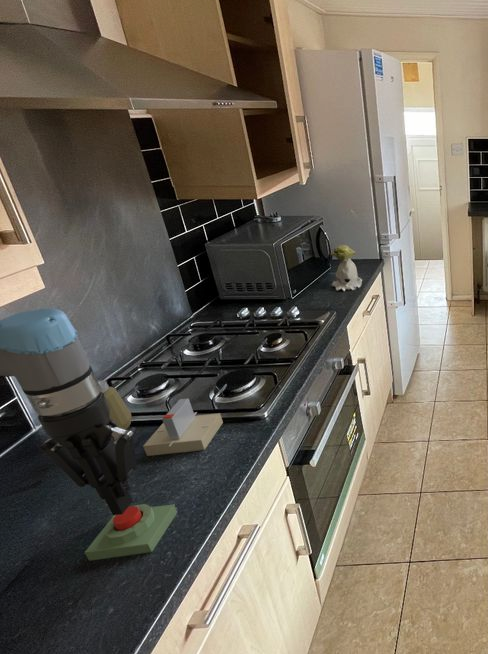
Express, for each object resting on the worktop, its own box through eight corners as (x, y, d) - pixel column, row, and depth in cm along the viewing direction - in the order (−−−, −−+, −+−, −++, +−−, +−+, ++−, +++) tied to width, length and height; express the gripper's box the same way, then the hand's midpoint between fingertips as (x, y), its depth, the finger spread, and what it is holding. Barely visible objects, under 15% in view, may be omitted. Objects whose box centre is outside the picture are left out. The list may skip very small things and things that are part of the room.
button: (111, 532, 74) (107, 525, 74) (125, 514, 78) (121, 507, 77) (133, 529, 75) (130, 522, 74) (146, 511, 78) (143, 504, 77)
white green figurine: (357, 277, 192) (351, 239, 185) (366, 286, 182) (361, 246, 176) (330, 283, 185) (323, 244, 178) (339, 293, 176) (332, 252, 169)
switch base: (144, 459, 94) (139, 449, 93) (173, 424, 104) (169, 414, 103) (202, 453, 96) (198, 443, 94) (225, 419, 106) (222, 409, 105)
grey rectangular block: (186, 418, 102) (179, 398, 99) (195, 417, 102) (188, 397, 100) (170, 440, 95) (161, 418, 93) (179, 438, 96) (171, 417, 93)
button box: (88, 560, 73) (80, 545, 72) (120, 519, 80) (113, 504, 79) (151, 552, 75) (144, 537, 73) (177, 512, 82) (171, 497, 80)
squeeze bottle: (130, 418, 106) (105, 358, 99) (141, 431, 102) (115, 370, 95) (87, 437, 100) (57, 375, 93) (97, 452, 96) (66, 389, 89)
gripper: (0, 423, 62) (64, 533, 70) (99, 414, 63) (149, 521, 72) (44, 391, 68) (98, 494, 77) (132, 383, 70) (175, 485, 79)
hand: (123, 507), depth 75 cm, fingers closed
